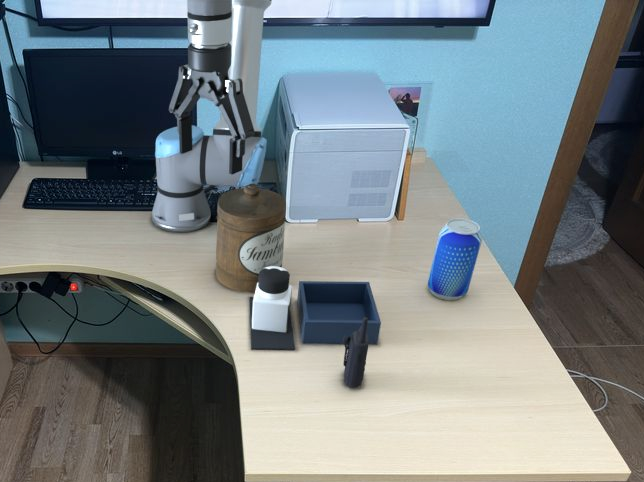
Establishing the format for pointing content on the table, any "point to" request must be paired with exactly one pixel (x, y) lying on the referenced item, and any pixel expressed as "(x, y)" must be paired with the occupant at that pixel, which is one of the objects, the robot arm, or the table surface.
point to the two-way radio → (356, 355)
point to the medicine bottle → (272, 300)
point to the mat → (271, 336)
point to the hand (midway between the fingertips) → (210, 161)
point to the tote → (336, 311)
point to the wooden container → (248, 235)
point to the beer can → (454, 259)
